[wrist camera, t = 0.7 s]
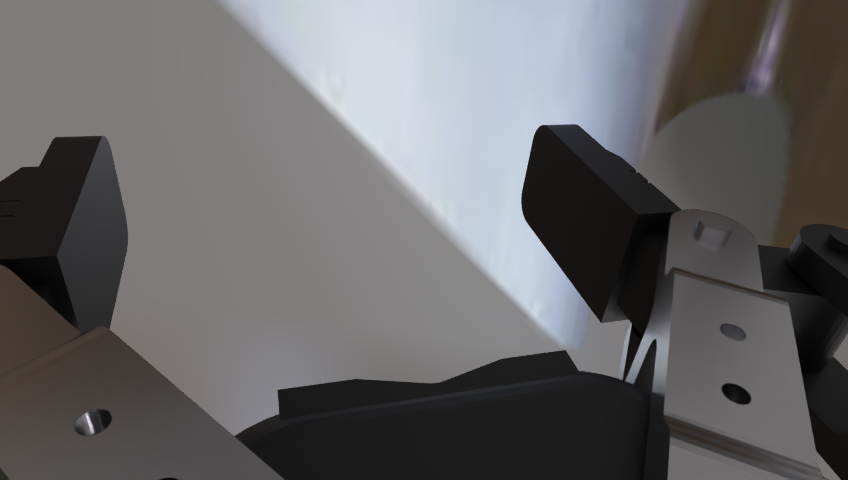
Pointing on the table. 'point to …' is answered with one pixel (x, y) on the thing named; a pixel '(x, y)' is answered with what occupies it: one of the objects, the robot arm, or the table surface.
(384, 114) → the table surface
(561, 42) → the table surface
